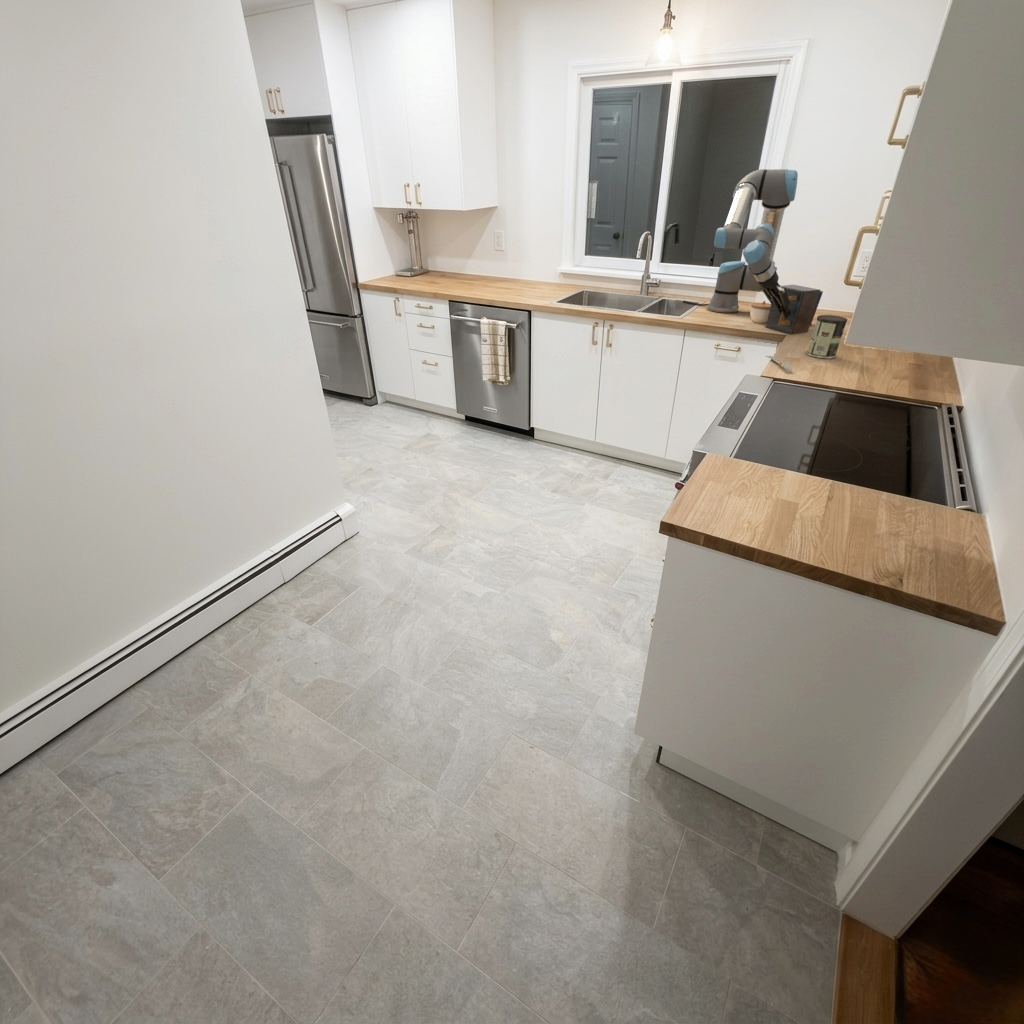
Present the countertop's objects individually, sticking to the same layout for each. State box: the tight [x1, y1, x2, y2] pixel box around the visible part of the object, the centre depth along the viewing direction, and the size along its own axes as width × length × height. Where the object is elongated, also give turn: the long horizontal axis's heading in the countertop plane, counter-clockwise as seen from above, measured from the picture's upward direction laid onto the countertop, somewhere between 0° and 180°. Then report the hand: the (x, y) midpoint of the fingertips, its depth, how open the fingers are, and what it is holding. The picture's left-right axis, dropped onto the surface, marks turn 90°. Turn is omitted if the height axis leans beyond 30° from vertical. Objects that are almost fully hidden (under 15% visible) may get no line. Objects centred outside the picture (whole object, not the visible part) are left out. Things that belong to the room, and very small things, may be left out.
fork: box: [765, 355, 793, 374], centre depth 198 cm, size 3×21×3 cm, turn 178°
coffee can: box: [806, 314, 848, 360], centre depth 206 cm, size 10×10×14 cm
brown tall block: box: [810, 290, 824, 326], centre depth 251 cm, size 7×7×15 cm
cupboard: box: [780, 284, 821, 335], centre depth 240 cm, size 10×14×18 cm
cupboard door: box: [765, 287, 804, 335], centre depth 237 cm, size 7×14×18 cm, turn 25°
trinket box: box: [749, 300, 771, 324], centre depth 256 cm, size 11×11×9 cm
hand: (786, 315), depth 234 cm, fingers closed on cupboard door, 2 cm apart
